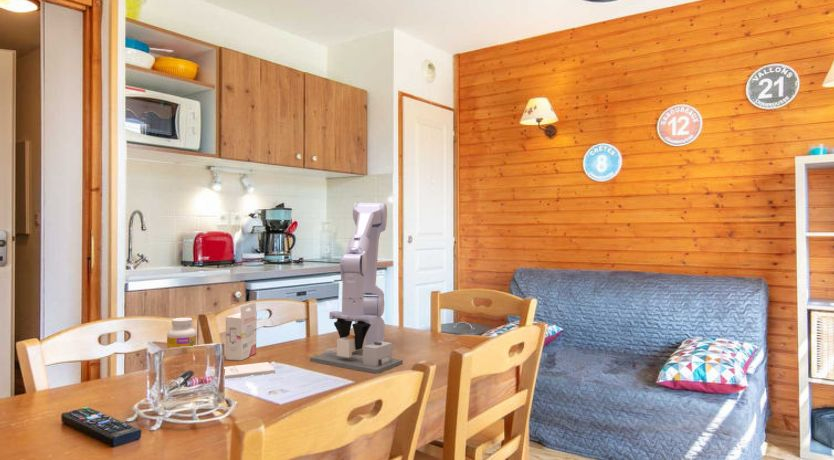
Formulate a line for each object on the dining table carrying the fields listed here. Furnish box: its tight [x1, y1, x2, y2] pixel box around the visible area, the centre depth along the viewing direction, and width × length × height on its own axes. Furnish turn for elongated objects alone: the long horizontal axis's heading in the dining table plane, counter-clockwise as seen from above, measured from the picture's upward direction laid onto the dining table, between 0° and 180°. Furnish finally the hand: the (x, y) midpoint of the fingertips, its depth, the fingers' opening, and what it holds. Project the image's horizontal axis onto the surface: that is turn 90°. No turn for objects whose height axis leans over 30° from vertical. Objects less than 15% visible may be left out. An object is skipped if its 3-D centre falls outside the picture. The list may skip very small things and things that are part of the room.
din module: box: [336, 334, 366, 358], centre depth 147 cm, size 8×4×5 cm, turn 149°
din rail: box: [324, 347, 389, 365], centre depth 146 cm, size 4×19×2 cm, turn 59°
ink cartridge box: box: [225, 302, 258, 361], centre depth 150 cm, size 9×5×15 cm, turn 168°
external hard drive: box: [223, 361, 276, 380], centre depth 135 cm, size 2×8×12 cm
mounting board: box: [309, 352, 404, 375], centre depth 146 cm, size 12×22×1 cm, turn 59°
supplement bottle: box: [166, 317, 197, 348], centre depth 136 cm, size 7×7×13 cm
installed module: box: [363, 341, 393, 367], centre depth 143 cm, size 8×4×5 cm, turn 149°
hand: (352, 347), depth 147 cm, fingers closed on din module, 4 cm apart
